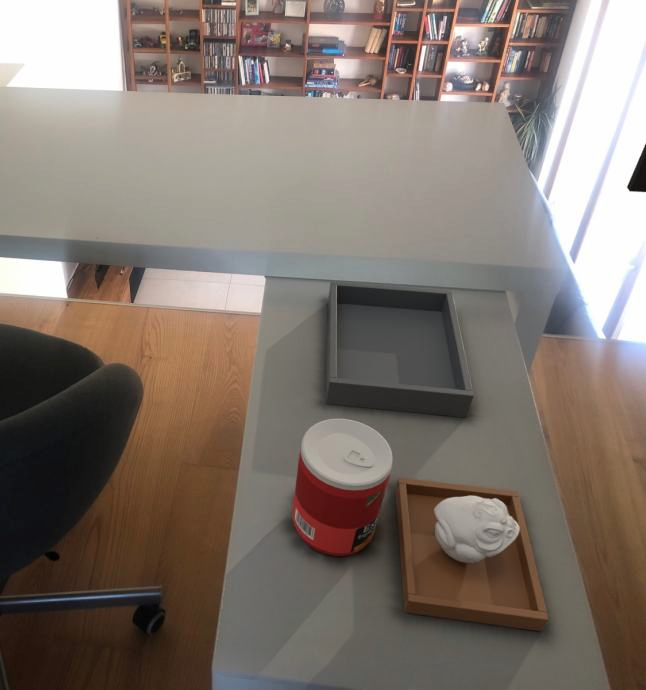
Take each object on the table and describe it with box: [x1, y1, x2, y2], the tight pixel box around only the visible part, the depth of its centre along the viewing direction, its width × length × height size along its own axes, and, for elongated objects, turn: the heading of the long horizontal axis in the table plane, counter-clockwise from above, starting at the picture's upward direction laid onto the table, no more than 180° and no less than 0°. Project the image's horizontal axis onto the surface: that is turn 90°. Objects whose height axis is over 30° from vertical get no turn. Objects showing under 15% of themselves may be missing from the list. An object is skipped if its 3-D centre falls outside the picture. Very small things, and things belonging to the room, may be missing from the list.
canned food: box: [291, 418, 394, 557], centre depth 64 cm, size 8×8×11 cm
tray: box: [394, 477, 550, 632], centre depth 64 cm, size 13×11×2 cm
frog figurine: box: [434, 496, 520, 563], centre depth 62 cm, size 6×7×7 cm
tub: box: [325, 281, 475, 419], centre depth 85 cm, size 20×16×4 cm
